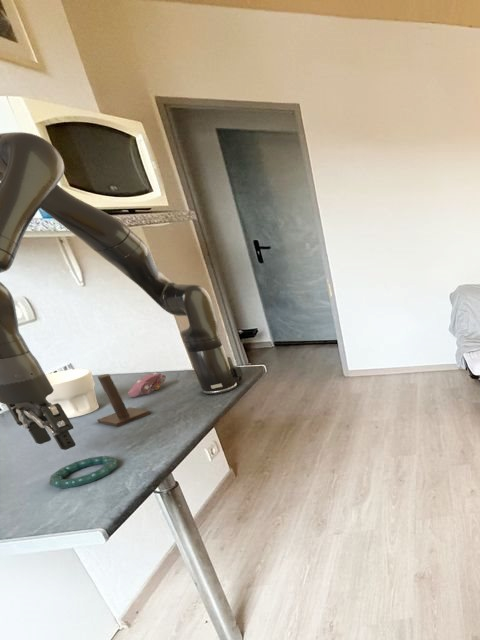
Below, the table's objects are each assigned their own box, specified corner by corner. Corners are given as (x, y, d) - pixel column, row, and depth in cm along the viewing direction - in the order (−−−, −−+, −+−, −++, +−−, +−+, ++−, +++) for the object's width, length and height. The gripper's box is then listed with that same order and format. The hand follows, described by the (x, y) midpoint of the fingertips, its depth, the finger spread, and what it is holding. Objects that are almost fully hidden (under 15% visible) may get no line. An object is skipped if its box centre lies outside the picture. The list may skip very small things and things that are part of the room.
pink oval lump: (141, 402, 129) (143, 384, 126) (126, 396, 128) (127, 378, 126) (167, 389, 138) (169, 372, 135) (153, 384, 137) (154, 366, 135)
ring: (99, 458, 98) (95, 451, 97) (129, 465, 95) (126, 458, 94) (40, 484, 89) (35, 477, 88) (71, 493, 86) (67, 486, 85)
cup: (94, 417, 117) (75, 381, 113) (37, 425, 113) (14, 388, 109) (116, 399, 128) (99, 366, 123) (64, 406, 124) (45, 372, 119)
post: (131, 410, 121) (111, 369, 115) (150, 413, 119) (130, 371, 113) (98, 422, 114) (75, 379, 109) (117, 426, 112) (95, 383, 106)
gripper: (62, 373, 84) (98, 441, 91) (20, 366, 88) (58, 432, 95) (11, 387, 78) (54, 459, 85) (-32, 379, 82) (13, 448, 89)
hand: (56, 445), depth 90 cm, fingers open, 8 cm apart
